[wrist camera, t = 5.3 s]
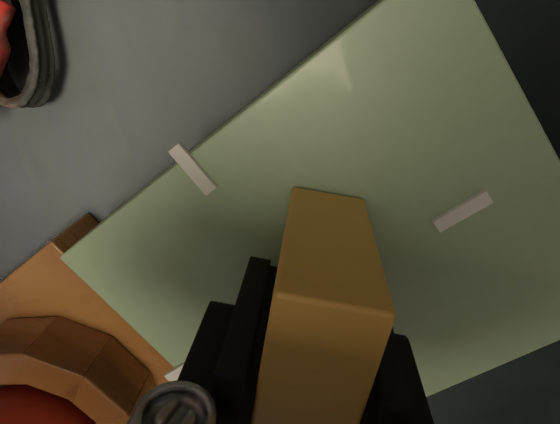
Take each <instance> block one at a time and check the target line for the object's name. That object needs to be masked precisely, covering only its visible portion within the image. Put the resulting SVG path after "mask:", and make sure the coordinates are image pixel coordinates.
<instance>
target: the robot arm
mask: <svg viewBox="0 0 560 424" xmlns="http://www.w3.org/2000/svg"><path fill="white" fill-rule="evenodd" d="M270 262H271V260H269V259H263V258H258V257H252V256H250V259H249V262H248V265H247V268H246V272H245V275H244V278H243V281H242V284H241V288H240V291H239V294H238V297H237V300H236V304H235V305H233V304H228V303H222V302H216V301H210V303H209V305H208V307H207V309H206V312H205V314H204V316H203V319H202V321H201V324H200V326H199V329H198V331H197V333H196V336H195V338H194V341H193V343H192V346H191V348H190V350H189V353H188V355H187V358H186V360H185V363H184V365H183V367H182V370H181V372H180V375H179V377H178V380H176V381H170V382H165V383H162V384H160V385H158V386H155V387H153V388H152V389H150V390H149V391H148V392H147V393H145V394H144V395H143V396H142V397H141V399H140V400H139V401H138V403H137V404H136V406H135V408H134V410H133V412H132V414H131V416H130V418H129V420H128V422H127V424H250V422H251V416H252V411H253V405H254V399H255V393H256V386H257V381H258V375H259V369H260V364H261V358H262V352H263V347H264V341H265V335H266V330H267V324H268V319H269V313H270V307H271V302H272V296H273V290H274V285H275V279H276V274H277V268H278V267H277V266H271V265H270ZM359 424H434V422H433V419H432V416H431V412H430V409H429V405H428V402H427V399H426V395H425V392H424V389H423V385H422V382H421V378H420V375H419V372H418V368H417V365H416V362H415V358H414V355H413V352H412V348H411V345H410V342H409V339H408V337H407V336H405V335H401V334H396V333H394V330H393V327H392V330H391V333H390V336H389V338H388V341H387V344H386V347H385V350H384V353H383V356H382V359H381V362H380V365H379V368H378V371H377V374H376V377H375V380H374V383H373V386H372V388H371V391H370V394H369V397H368V400H367V403H366V406H365V409H364V412H363V415H362V418H361V421H360V423H359Z"/></svg>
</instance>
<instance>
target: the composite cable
mask: <svg viewBox="0 0 560 424" xmlns="http://www.w3.org/2000/svg"><path fill="white" fill-rule="evenodd" d="M18 1H19V2H20V5H21V9H22V13H23V21H24V26H25V30H26V39H27V45H28V49H29V57H30V60H29V67H30V72H29V74H28V76H27V80H26V84H25V87H24V89H23V91H22V92H20V91H19V89H18V87H17V86H16V84H15V82H14V81H13V79H12V77H11V75H10V72H9V68H8V63H7V60H8V58H9V56H10V52H11V47H10V44H9V41H8V34H9V29H10V25H11V22H12V19H13V16H14V13H15V12H16V6H17V4H18ZM54 79H55V56H54V48H53V44H52V36H51V31H50V25H49V20H48V15H47V10H46V1H45V0H0V104H1V105H3V106H5V107H9V108H18V107H21V108H23V107H30V108H34V107H40V106H43V105H44V104H45V103H46V102H47V100H48V99H49V97H50V95H51V92H52V84H53V82H54Z"/></svg>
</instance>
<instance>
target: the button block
mask: <svg viewBox="0 0 560 424" xmlns="http://www.w3.org/2000/svg"><path fill="white" fill-rule="evenodd" d="M98 224H99V223H98V222H97V221H96V220H95V219H94V218H93V217H92V216H91V215H90V214H86V215H84V216H83V217H82V218H81V219H79V220H78V221H77V222H75V223H74V224H73V225H71V226H70V227H69V228H67V229H66V230H65V231H63V232H62V233H61V234H59V235H58V236H57V237H56V238H54V239H53V240H52V241H50V242H49V243H48V244H47V245H45V246H44V247H43V248H42V249H41V250H39V251H38V252H37V253H36V254H35V255H33V256H32V257H31V258H30V259H28V260H27V261H26V262H25V263H24V264H22V265H21V266H20V267H19V268H17V269H16V270H15V271H14V272H13V273H11V274H10V275H9V276H8V277H7V278H5V279H4V280H3V281H2V282H0V388H2V387H5V386H8V385H21V384H27V385H30V386H32V387H35V388H38V389H41V390H44V391H46V392H49V393H52V394H55V395H57V396H60V397H63V398H66V399H68V400H70V401H71V402H72V403H73V404H74V405H76V406H77V407H78V408H79V409H80V410H82V411H83V412H84V413H85V414H86V415H88V416H89V417H90V418H91V419H92V420H94V421H95V422H96V424H127V422H128V420H129V418H130V416H131V414H132V412H133V410H134V408H135V406H136V404H137V403H138V401H139V400H140V399H141V397H142V396H143V395H144V394H145V393H147V392H148V391H149V390H150V389H152V388H153V387H155V386H158V385H160V384H162V383H165V382H169V381H168V380H167V379H166V378H165V377H164V375H165V373H166V372H168V371H169V370H171V369H173V368H174V367H173V366H172V365H171V364H170V363H169V362H168V361H167V360H166V359H165V358H164V357H163V356H162V355H161V354H159V353H158V352H157V351H156V350H155V349H154V348H153V347H152V346H151V345H150V344H149V343H148V342H147V341H146V340H145V339H144V338H143V337H142V336H141V335H140V334H139V333H137V332H136V331H135V330H134V329H133V328H132V327H131V326H130V325H129V324H128V323H127V322H126V321H125V320H124V319H123V318H122V317H121V316H120V315H119V314H118V313H117V312H115V311H114V310H113V309H112V308H111V307H110V306H109V305H108V304H107V303H106V302H105V301H104V300H103V299H102V298H101V297H100V296H99V295H98V294H97V293H96V292H95V291H93V290H92V289H91V288H90V287H89V286H88V285H87V284H86V283H85V282H84V281H83V280H82V279H81V278H80V277H79V276H78V275H77V274H76V273H75V272H74V271H73V270H71V269H70V268H69V267H68V266H67V265H66V264H65V263H64V262H63V261H62V260H61V259H60V257H61V255H62V254H63V253H65V252H66V251H67V250H68V249H69V248H70V247H72V246H73V245H74V244H75V243H76V242H78V241H79V240H80V239H81V238H82V237H83V236H85V235H86V234H87V233H88V232H89V231H91V230H92V229H93V228H94V227H95V226H96V225H98Z"/></svg>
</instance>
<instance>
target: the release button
mask: <svg viewBox="0 0 560 424" xmlns="http://www.w3.org/2000/svg"><path fill="white" fill-rule="evenodd" d="M0 424H96V422H95V421H94V420H92V419H91V418H90V417H89V416H88V415H86V414H85V413H84V412H83V411H82V410H80V409H79V408H78V407H77V406H76V405H74V404H73V403H72V402H71V401H70V400H68V399H66V398H63V397H60V396H57V395H55V394H52V393H49V392H46V391H44V390H41V389H38V388H35V387H32V386H30V385H27V384H21V385H8V386H5V387H2V388H0Z"/></svg>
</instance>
